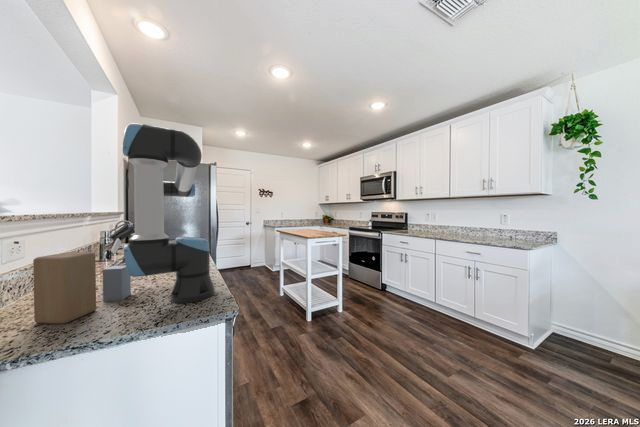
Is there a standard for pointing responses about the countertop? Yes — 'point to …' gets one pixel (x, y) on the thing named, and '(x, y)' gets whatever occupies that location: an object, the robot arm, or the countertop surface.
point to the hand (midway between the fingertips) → (131, 251)
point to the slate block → (116, 283)
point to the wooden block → (64, 286)
